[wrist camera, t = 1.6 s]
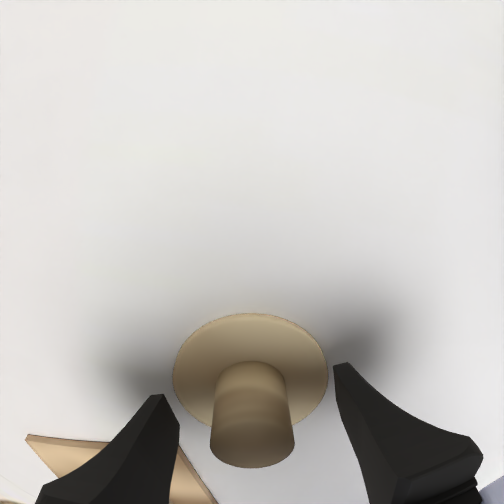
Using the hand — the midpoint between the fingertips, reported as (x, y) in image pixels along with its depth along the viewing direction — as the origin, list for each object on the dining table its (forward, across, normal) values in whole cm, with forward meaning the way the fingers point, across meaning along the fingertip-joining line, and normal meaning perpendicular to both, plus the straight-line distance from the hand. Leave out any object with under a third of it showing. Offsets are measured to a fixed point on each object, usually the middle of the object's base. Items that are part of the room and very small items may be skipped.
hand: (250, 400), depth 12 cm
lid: (+2, 0, 0) cm, 2 cm away
